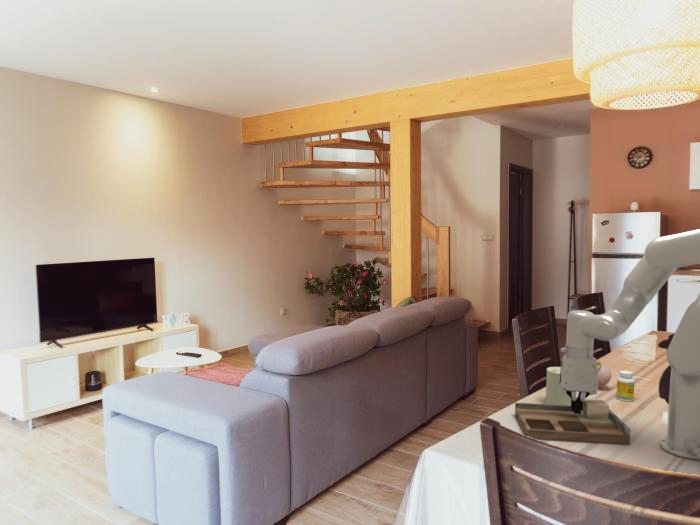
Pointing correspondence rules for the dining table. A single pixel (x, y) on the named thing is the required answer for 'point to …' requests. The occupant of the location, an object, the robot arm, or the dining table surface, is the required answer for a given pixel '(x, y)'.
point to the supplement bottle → (625, 386)
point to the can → (555, 388)
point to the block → (595, 409)
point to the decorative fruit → (603, 375)
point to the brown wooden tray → (569, 425)
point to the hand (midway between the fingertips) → (576, 412)
